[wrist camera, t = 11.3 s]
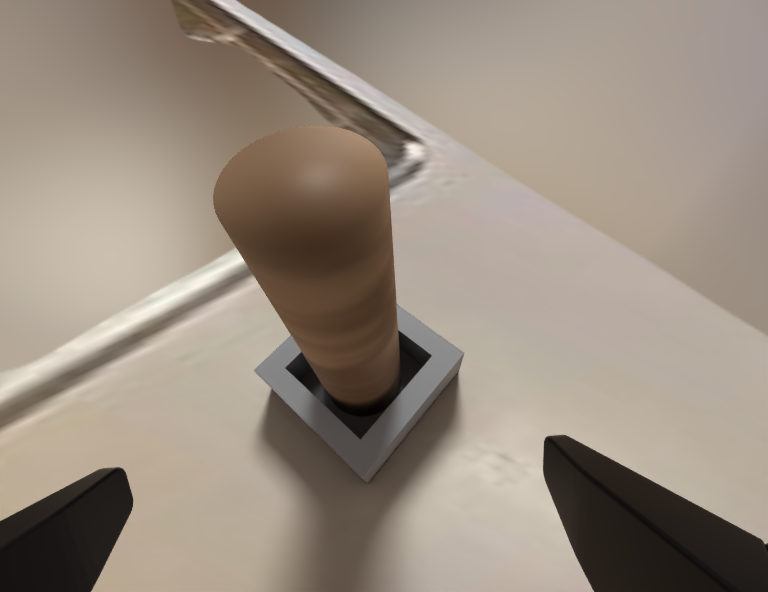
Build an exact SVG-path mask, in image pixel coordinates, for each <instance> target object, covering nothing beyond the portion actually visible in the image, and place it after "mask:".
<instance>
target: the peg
mask: <svg viewBox="0 0 768 592" xmlns="http://www.w3.org/2000/svg"><path fill="white" fill-rule="evenodd" d="M213 199H214V200H213V201H214V208H215V212H216V214H217V216H218V219H219V221H220V222H221V224H222V225H223V227H224V229H225V230H226V232H227V233H228V235H229V237H230V238H231V240H232V241H233V243H234V244H235V246H236V248H237V249H238V251H239V253H240V254H241V256H242V257H243V259H244V261H245V262H246V264H247V265H248V267H249V269H250V270H251V272H252V273H253V275H254V276H255V278H256V280H257V281H258V283H259V284H260V286H261V288H262V289H263V291H264V292H265V294H266V296H267V297H268V299H269V300H270V302H271V304H272V305H273V307H274V308H275V310H276V312H277V313H278V315H279V316H280V318H281V320H282V321H283V323H284V324H285V326H286V328H287V329H288V331H289V332H290V334H291V336H292V337H293V339H294V340H295V342H296V344H297V345H298V347H299V348H300V350H301V352H302V353H303V355H304V356H305V358H306V360H307V361H308V363H309V364H310V366H311V368H312V369H313V371H314V372H315V374H316V376H317V377H318V379H319V380H320V382H321V384H322V385H323V387H324V388H325V390H326V392H327V393H328V395H329V396H330V398H331V399H332V401H333V402H334V404H335V405H336V406H337V407H338V408H339V409H341V410H342V411H344V412H346V413H348V414H350V415H354V416H370V415H374V414H377V413H379V412H381V411H383V410H384V409H386V408H387V407H388V406H389V405H390V404H391V403H392V402H393V401H394V399H395V398H396V396H397V394H398V392H399V389H400V385H401V367H400V351H399V335H398V320H397V304H396V288H395V272H394V257H393V241H392V225H391V210H390V194H389V178H388V169H387V164H386V162H385V159H384V157H383V156H382V154H381V153H380V151H379V150H378V149H377V148H376V147H375V145H374V144H372V143H371V142H370V141H369V140H367V139H366V138H364V137H362V136H361V135H358V134H356V133H354V132H352V131H348V130H345V129H341V128H337V127H330V126H302V127H295V128H290V129H286V130H282V131H279V132H276V133H273V134H270V135H268V136H265V137H263V138H261V139H259V140H257V141H255V142H254V143H252V144H250V145H248V146H247V147H246V148H244V149H243V150H241V151H240V152H239V153H238V154H237V155H235V156H234V158H232V159H231V160H230V161H229V163H228V164H227V165H226V166H225V168H224V169H223V171H222V172H221V174H220V176H219V178H218V180H217V182H216V185H215V188H214V196H213Z"/></svg>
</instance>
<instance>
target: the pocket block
mask: <svg viewBox="0 0 768 592" xmlns="http://www.w3.org/2000/svg"><path fill="white" fill-rule="evenodd" d="M397 320H398V335H399V351H400V367H401V385H400V389H399V392H398V394H397V396H396V398H395V399H394V401H393V402H392V403H391V404H390V405H389V406H388V407H387V408H386V409H384V410H383V411H381V412H379V413H377V414H374V415H370V416H354V415H350V414H348V413H346V412H344V411H342V410H341V409H339V408H338V407H337V406H336V405H335V404H334V402H333V401H332V399H331V398H330V396H329V395H328V393H327V392H326V390H325V388H324V387H323V385H322V384H321V382H320V380H319V379H318V377H317V376H316V374H315V372H314V371H313V369H312V368H311V366H310V364H309V363H308V361H307V360H306V358H305V356H304V355H303V353H302V352H301V350H300V348H299V347H298V345H297V344H296V342H295V340H294V339H293V337H292V336H290V337H289V338H288V339H287V340H285V341H284V342H283V343H282V344H281V345H280V346H279V347H278V348H277V349H276V350H275V351H274V352H273V353H272V354H271V355H270V356H269V357H267V358H266V359H265V360H264V361H263V362H262V363H261V364H260V365H259V366H258V367H257V368H256V369H255V370H254V371H255V372H256V373H257V374H258V375H259V376H260V377H261V378H262V379H263V380H264V381H265V382H266V383H267V384H268V385H269V386H270V387H271V388H272V389H273V390H274V391H275V392H276V393H277V394H278V395H279V396H280V397H281V398H282V399H283V400H284V401H285V402H286V403H287V404H288V405H289V406H290V407H291V408H292V409H293V410H294V411H295V412H296V413H297V414H298V415H299V416H300V417H301V418H302V419H303V420H304V421H305V422H306V423H307V424H308V425H309V426H310V427H311V428H312V429H313V430H314V431H315V432H316V433H317V434H318V435H319V436H320V437H321V438H322V439H323V440H324V441H325V442H326V443H327V444H328V445H329V446H330V447H331V448H332V449H333V450H334V451H335V452H336V453H337V455H338V456H339V457H340V458H341V459H342V460H343V461H344V462H345V463H346V464H347V465H348V466H349V467H350V468H351V469H352V470H353V471H354V472H355V473H356V474H357V475H358V476H359V477H360V478H361V479H363V480H364V481H365V482H366V483H368V484H369V483H370V481H371V480H372V479H373V478H374V476H375V475H376V474H377V473H378V471H379V470H380V469H381V468H382V466H383V465H384V464H385V463H386V461H387V460H388V459H389V458H390V456H391V455H392V454H393V453H394V451H395V450H396V449H397V448H398V447H399V445H400V444H401V443H402V442H403V440H404V439H405V438H406V437H407V435H408V434H409V433H410V432H411V430H412V429H413V428H414V427H415V425H416V424H417V423H418V422H419V420H420V419H421V418H422V417H423V415H424V414H425V413H426V412H427V410H428V409H429V408H430V407H431V406H432V404H433V403H434V402H435V401H436V399H437V398H438V397H439V396H440V394H441V393H442V392H443V391H444V389H445V388H446V387H447V386H448V384H449V383H450V382H451V381H452V379H453V378H454V377H455V376H456V374H457V373H458V372H459V369H460V365H461V362H462V359H463V356H464V352H462V351H461V350H459V349H458V348H457V347H455V346H454V345H453V344H451V343H450V342H448V341H447V340H446V339H444V338H443V337H442V336H440V335H439V334H437V333H436V332H435V331H433V330H432V329H431V328H429V327H428V326H426V325H425V324H424V323H422V322H421V321H420V320H418V319H417V318H415V317H414V316H413V315H411V314H410V313H409V312H407V311H406V310H404V309H403V308H402V307H400V306H399V305H398V304H397Z"/></svg>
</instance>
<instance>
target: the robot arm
mask: <svg viewBox="0 0 768 592" xmlns="http://www.w3.org/2000/svg"><path fill="white" fill-rule="evenodd" d="M543 474H544V478H545V481H546V484H547V487H548V489H549V492H550V494H551V496H552V499H553V501H554V504H555V506H556V509H557V511H558V514H559V516H560V519H561V521H562V524H563V526H564V529H565V531H566V534H567V536H568V539H569V541H570V543H571V546H572V548H573V550H574V553H575V555H576V557H577V559H578V561H579V563H580V565H581V567H582V569H583V571H584V573H585V575H586V577H587V579H588V581H589V583H590V585H591V587H592V589H593V590H594V592H768V543H767V544H764V542H763V541H762V540H761V539H760V538H758V537H756V536H754V535H752V534H750V533H748V532H747V531H745V530H743V529H741V528H739V527H737V526H735V525H733V524H732V523H730V522H728V521H726V520H724V519H722V518H720V517H718V516H717V515H715V514H713V513H711V512H709V511H707V510H705V509H703V508H702V507H700V506H698V505H696V504H694V503H692V502H690V501H688V500H687V499H685V498H683V497H681V496H679V495H677V494H675V493H673V492H672V491H670V490H668V489H666V488H664V487H662V486H660V485H659V484H657V483H655V482H653V481H651V480H649V479H647V478H645V477H644V476H642V475H640V474H638V473H636V472H634V471H632V470H630V469H629V468H627V467H625V466H623V465H621V464H619V463H617V462H615V461H614V460H612V459H610V458H608V457H606V456H604V455H602V454H600V453H599V452H597V451H595V450H593V449H591V448H589V447H587V446H585V445H584V444H582V443H580V442H578V441H576V440H574V439H572V438H570V437H569V436H566V435H554V436H547V437H546V438H545V441H544V457H543ZM132 507H133V496H132V493H131V489H130V486H129V482H128V479H127V475H126V472H125V471H124V469H122V468H120V467H115V468H103V469H99V470H97V471H95V472H93V473H91V474H90V475H88V476H86V477H84V478H82V479H80V480H78V481H76V482H74V483H72V484H70V485H69V486H67V487H65V488H63V489H61V490H59V491H57V492H55V493H53V494H51V495H49V496H47V497H46V498H44V499H42V500H40V501H38V502H36V503H34V504H32V505H30V506H28V507H26V508H25V509H23V510H21V511H19V512H17V513H15V514H13V515H11V516H9V517H7V518H5V519H4V520H2V521H0V592H91V591H92V589H93V587H94V585H95V583H96V581H97V579H98V577H99V576H100V574H101V572H102V569H103V567H104V565H105V563H106V561H107V559H108V557H109V555H110V553H111V551H112V549H113V547H114V545H115V543H116V541H117V539H118V537H119V535H120V533H121V531H122V529H123V527H124V525H125V523H126V521H127V519H128V517H129V515H130V513H131V511H132Z"/></svg>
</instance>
